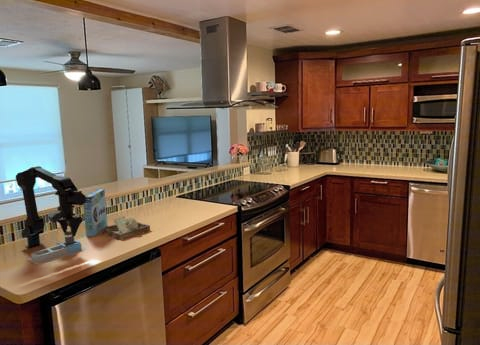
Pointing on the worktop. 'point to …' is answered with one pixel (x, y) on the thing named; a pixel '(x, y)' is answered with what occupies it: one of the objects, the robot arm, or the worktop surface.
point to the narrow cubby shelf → (55, 252)
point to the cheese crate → (111, 232)
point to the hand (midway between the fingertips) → (69, 234)
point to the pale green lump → (125, 224)
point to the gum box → (95, 212)
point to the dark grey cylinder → (69, 238)
